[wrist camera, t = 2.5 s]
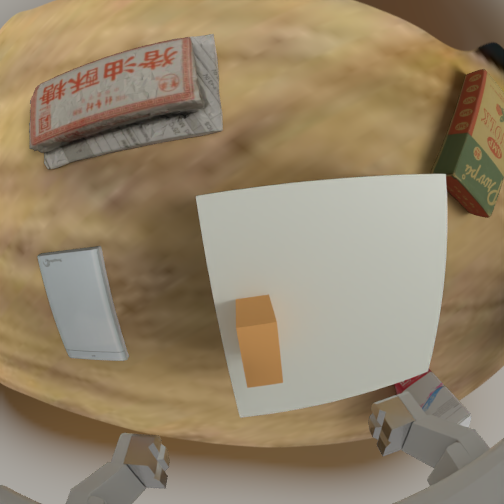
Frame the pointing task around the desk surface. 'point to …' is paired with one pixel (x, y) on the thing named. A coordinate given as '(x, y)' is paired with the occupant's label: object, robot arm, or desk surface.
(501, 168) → the carton
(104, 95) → the packaged product
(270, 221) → the lid flap
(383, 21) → the desk surface
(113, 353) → the hard drive
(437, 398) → the ink box
